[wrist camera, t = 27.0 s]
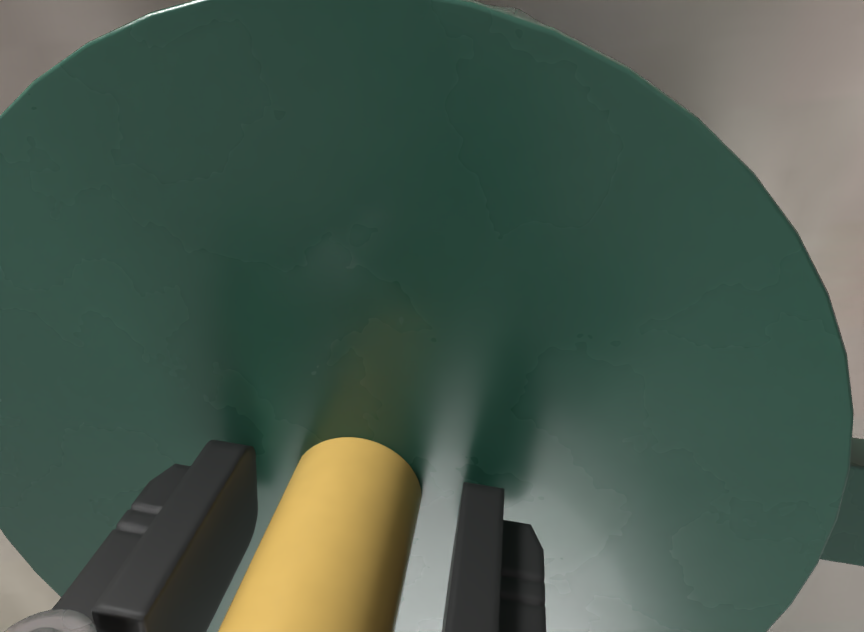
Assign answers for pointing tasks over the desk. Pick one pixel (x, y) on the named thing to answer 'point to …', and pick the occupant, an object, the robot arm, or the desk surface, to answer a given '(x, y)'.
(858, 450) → the pot
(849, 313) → the desk surface
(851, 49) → the desk surface
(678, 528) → the lid
